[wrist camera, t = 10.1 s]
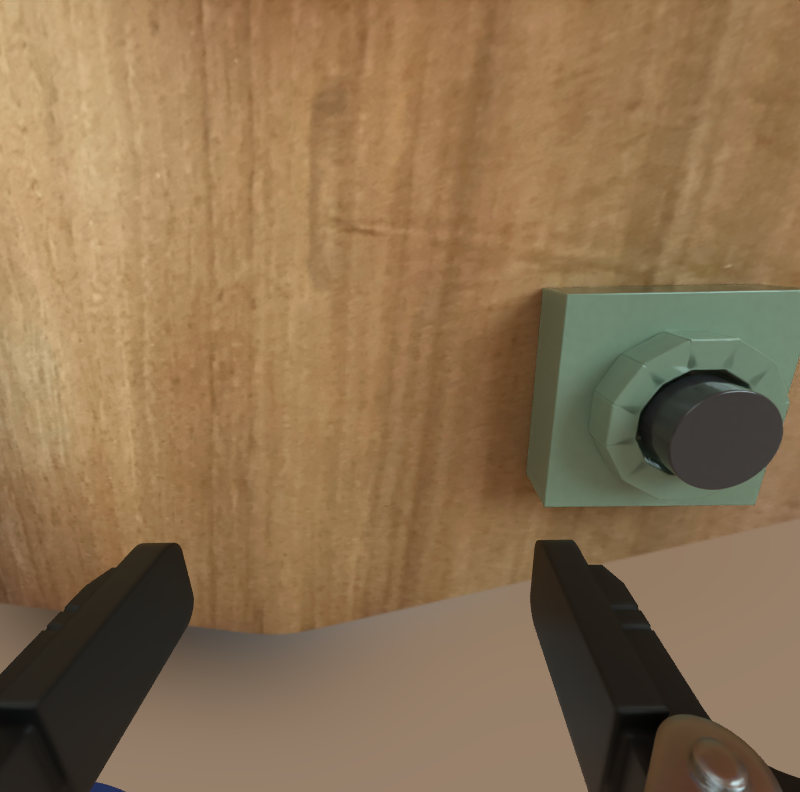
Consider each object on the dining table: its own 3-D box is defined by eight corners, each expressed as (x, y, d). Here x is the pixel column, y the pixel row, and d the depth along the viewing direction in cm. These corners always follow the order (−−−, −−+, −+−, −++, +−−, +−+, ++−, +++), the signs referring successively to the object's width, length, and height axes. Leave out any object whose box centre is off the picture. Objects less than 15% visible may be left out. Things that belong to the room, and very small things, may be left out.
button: (727, 464, 18) (767, 490, 16) (632, 465, 18) (660, 491, 16) (751, 372, 16) (798, 389, 14) (648, 374, 16) (681, 391, 14)
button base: (709, 471, 23) (787, 529, 18) (525, 474, 23) (556, 531, 18) (756, 283, 20) (867, 293, 15) (542, 287, 20) (585, 299, 15)
